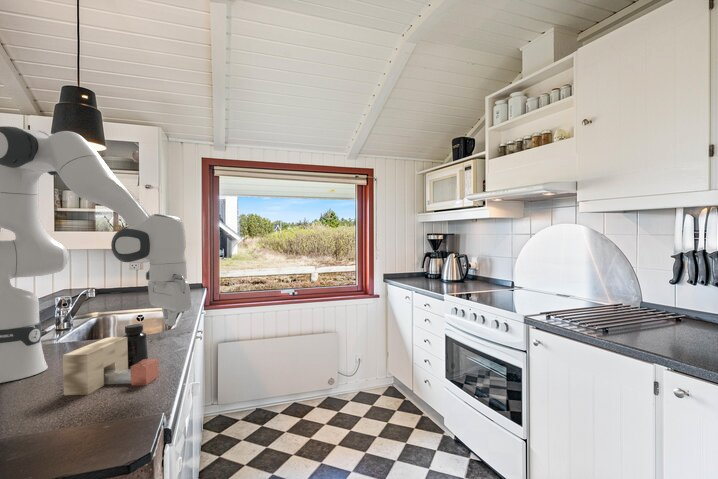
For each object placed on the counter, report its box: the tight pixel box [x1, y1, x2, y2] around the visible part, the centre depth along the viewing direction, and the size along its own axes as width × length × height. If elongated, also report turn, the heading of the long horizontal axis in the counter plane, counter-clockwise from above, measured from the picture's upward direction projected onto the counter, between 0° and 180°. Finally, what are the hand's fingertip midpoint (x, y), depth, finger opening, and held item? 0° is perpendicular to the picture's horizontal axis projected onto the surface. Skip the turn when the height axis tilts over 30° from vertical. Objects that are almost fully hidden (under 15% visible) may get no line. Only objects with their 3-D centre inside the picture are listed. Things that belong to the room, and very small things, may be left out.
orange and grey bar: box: [104, 358, 159, 387], centre depth 98 cm, size 14×6×5 cm, turn 91°
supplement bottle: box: [122, 323, 149, 369], centre depth 112 cm, size 7×7×12 cm
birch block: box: [62, 336, 129, 396], centre depth 98 cm, size 6×16×10 cm, turn 1°
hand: (170, 324), depth 98 cm, fingers closed
